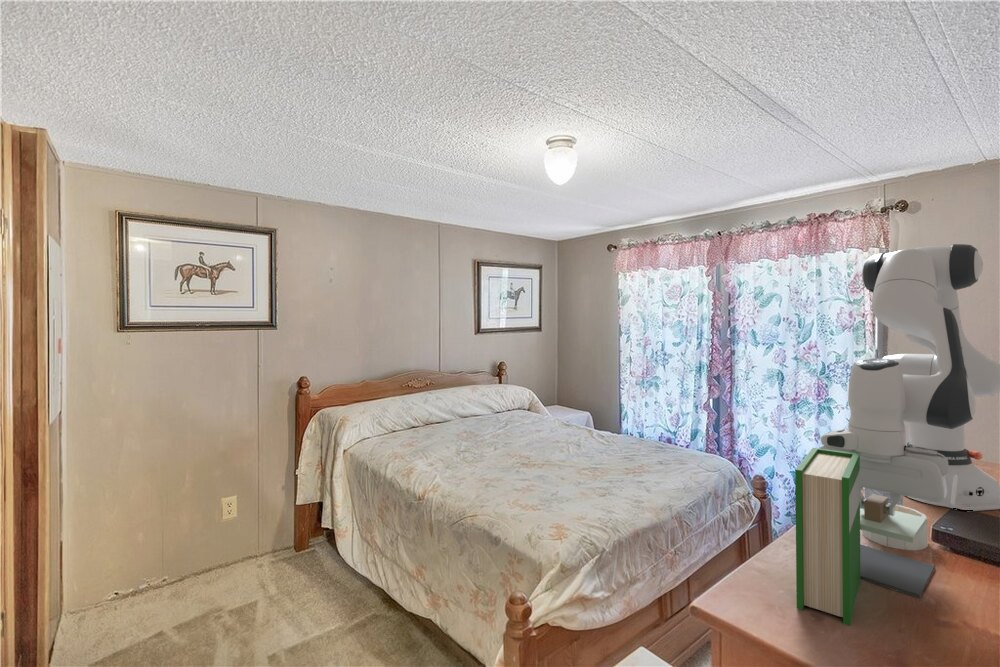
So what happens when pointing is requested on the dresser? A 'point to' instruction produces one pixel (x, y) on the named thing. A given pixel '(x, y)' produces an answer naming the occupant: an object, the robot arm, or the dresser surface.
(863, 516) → the lid
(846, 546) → the hardback book
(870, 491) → the medicine box
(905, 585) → the mat
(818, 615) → the dresser surface
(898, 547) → the bowl
